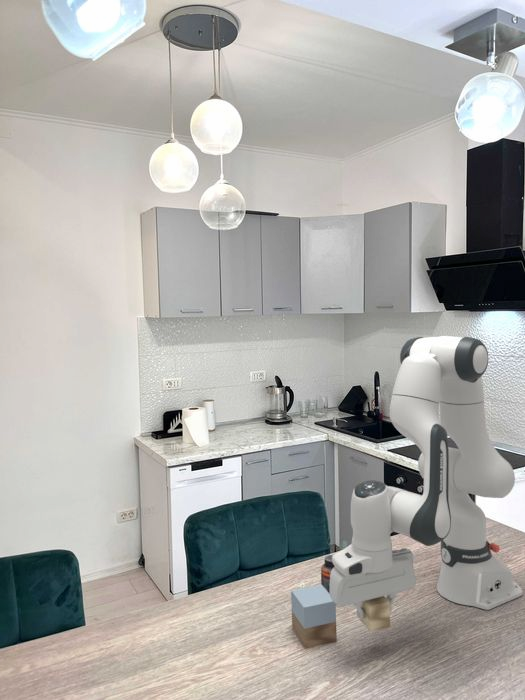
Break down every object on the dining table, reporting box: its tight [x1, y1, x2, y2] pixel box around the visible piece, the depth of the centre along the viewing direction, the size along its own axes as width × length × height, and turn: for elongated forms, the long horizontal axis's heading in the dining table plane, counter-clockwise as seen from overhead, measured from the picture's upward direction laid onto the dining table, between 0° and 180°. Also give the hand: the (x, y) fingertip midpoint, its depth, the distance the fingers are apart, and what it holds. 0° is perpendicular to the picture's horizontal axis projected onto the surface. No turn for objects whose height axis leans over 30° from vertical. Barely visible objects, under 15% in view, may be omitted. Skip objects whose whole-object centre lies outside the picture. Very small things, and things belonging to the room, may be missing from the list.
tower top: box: [290, 584, 337, 629], centre depth 123 cm, size 8×8×5 cm
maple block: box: [359, 596, 391, 633], centre depth 116 cm, size 5×5×6 cm
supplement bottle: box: [320, 554, 335, 594], centre depth 138 cm, size 6×6×11 cm
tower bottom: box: [291, 611, 338, 650], centre depth 123 cm, size 8×8×5 cm
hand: (374, 614), depth 117 cm, fingers closed on maple block, 5 cm apart
